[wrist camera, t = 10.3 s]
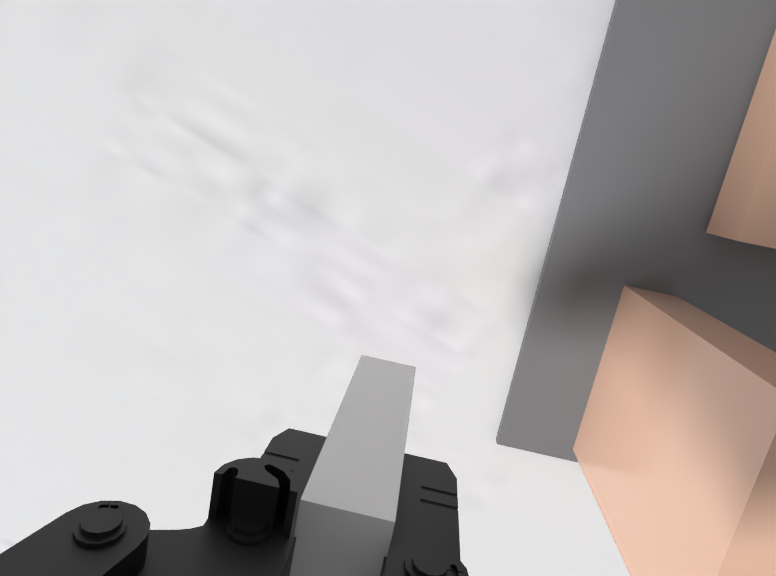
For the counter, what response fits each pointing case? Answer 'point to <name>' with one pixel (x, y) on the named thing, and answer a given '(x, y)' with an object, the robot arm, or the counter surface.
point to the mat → (645, 204)
